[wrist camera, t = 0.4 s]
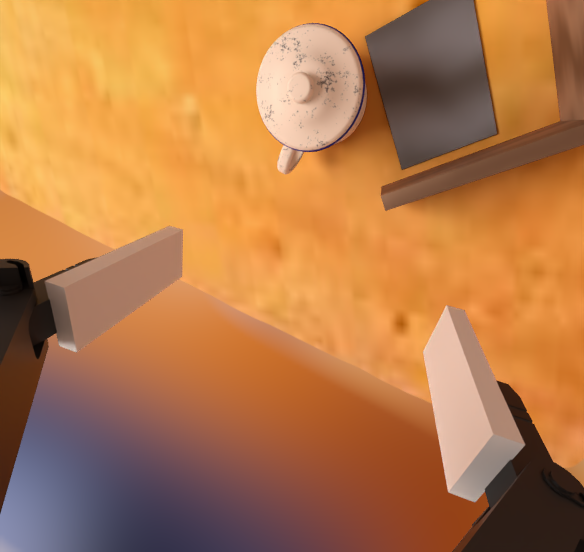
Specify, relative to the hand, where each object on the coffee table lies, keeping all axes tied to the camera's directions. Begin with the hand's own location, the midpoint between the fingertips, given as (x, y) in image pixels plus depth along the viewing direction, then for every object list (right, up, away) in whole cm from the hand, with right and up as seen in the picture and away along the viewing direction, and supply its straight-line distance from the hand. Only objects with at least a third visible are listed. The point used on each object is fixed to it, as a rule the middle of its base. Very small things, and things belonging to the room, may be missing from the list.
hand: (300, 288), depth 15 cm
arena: (+15, +19, +14) cm, 28 cm away
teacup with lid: (+3, +18, +19) cm, 26 cm away
